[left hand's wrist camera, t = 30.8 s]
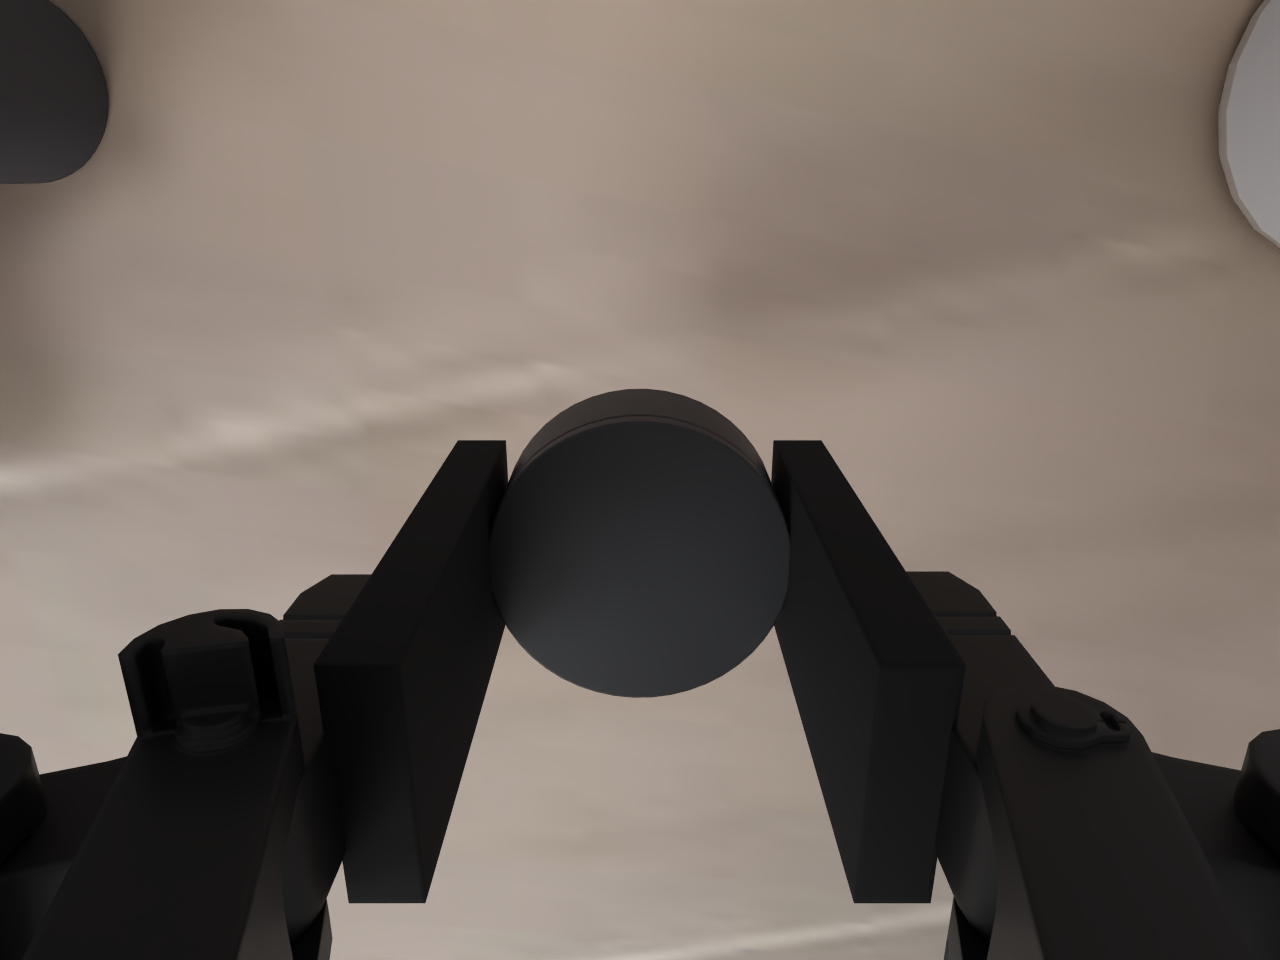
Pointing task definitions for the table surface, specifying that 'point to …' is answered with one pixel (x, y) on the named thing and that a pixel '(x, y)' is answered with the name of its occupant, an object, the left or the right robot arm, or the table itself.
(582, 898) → the table surface
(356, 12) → the table surface
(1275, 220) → the mug
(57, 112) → the bottle
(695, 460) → the cap
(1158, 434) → the table surface
